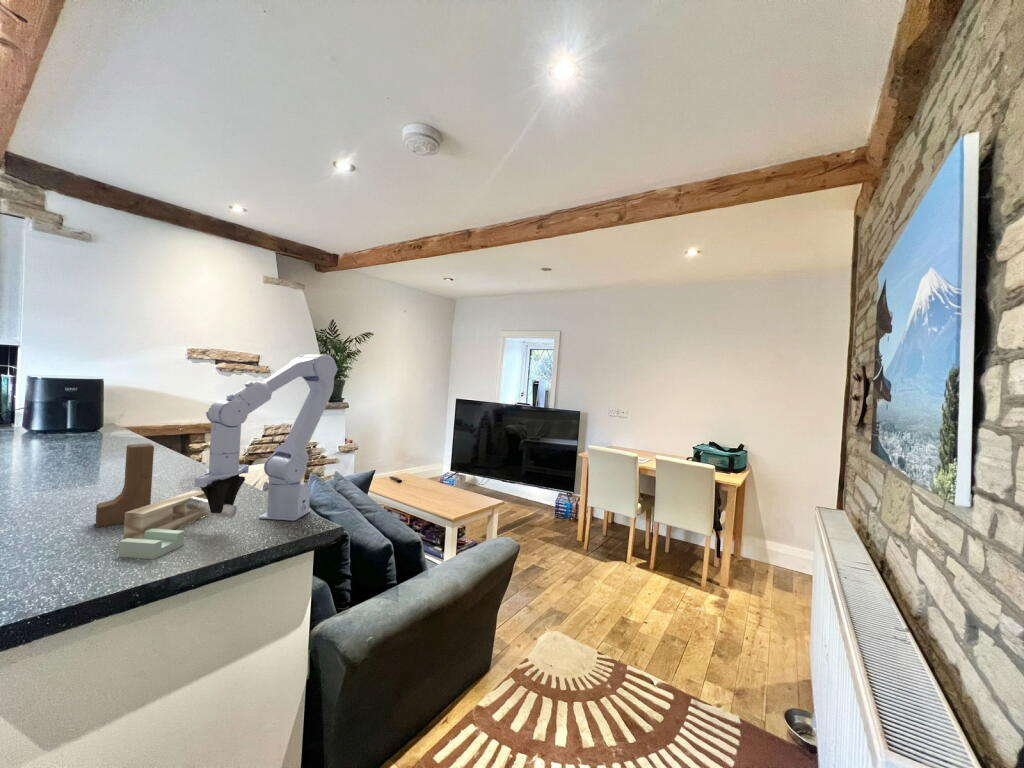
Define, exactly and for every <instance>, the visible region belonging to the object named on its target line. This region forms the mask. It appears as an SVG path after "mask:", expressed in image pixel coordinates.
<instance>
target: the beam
mask: <svg viewBox="0 0 1024 768" xmlns="http://www.w3.org/2000/svg"><path fill="white" fill-rule="evenodd" d="M191 497H198V498H203V499H207V497H206V495H205V494H204V492H203V491H201V490H191V491H187V492H185V493H180V494H179V495H176V496H172V497H169V498H167V499H163V500H160V501H157V502H153V503H150V505H147V506H144V507H141V508H138V509H135V510H131V511H128V512H125V521H124V523H123V539H122V540H124V539H126V538H132V539H144V537H145V531H147V530H150V529H165V530H174V529H175V530H178V529H179V528H182V527H184V526H186V524H187V525H189V524H190V523H189V522H191V523H193V522H192V521H194V520H196V519H199V518H201V517H203V516H206V515H209V513H204V512H200V511H196V510H191V509H187V507H186V504H187V502H188V500H189V499H190V498H191ZM206 517H207V516H206ZM203 518H204V517H203ZM201 519H202V518H201ZM199 520H200V519H199ZM196 521H197V520H196ZM194 522H195V521H194ZM188 523H189V524H188ZM183 525H184V526H183ZM181 526H182V527H181Z"/></svg>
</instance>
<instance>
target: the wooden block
mask: <svg viewBox="0 0 1024 768" xmlns="http://www.w3.org/2000/svg"><path fill="white" fill-rule="evenodd" d="M154 450H155V446H154V445H153V444H152V443H136V444H135V443H132V444H128V445H126V450H125V451H126V452H125V467H124V468H125V469H124V470H125V471H124V482H123V483H124V484H123V487H122V490H121V493H119V494H118V495H117V496H116V497H114V498H113V499H111V500H106V501H103V502H100V503H97V504H96V507H95V509H96V510H95V524H96V526H97V528H104V527H110V526H116V525H122V524H124V521H125V512H128V511H131V510H135V509H138V508H141V507H144V506H147V505H150V504H152V503H151V499H152V484H153V471H154V469H153V468H154V453H155V451H154Z"/></svg>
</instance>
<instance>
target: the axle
mask: <svg viewBox="0 0 1024 768" xmlns="http://www.w3.org/2000/svg"><path fill="white" fill-rule="evenodd" d="M186 507H187V509H191V510H196V511H200V512H204V513H208V515H214V516H217V517H222V518H227V519H232V518H234V517H235V515H236V513H237V512H238V507H237V505H234V504H233V505H229V504H224V505H223V510H222V513H211V511H210V507H209V503H208V500H207V499H203V498H198V497H191V498H190V499H189V500H188V502H187V504H186Z"/></svg>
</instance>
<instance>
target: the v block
mask: <svg viewBox="0 0 1024 768" xmlns="http://www.w3.org/2000/svg"><path fill="white" fill-rule="evenodd" d="M184 542H185V530H178V529H175V530H165V529H150V530H147V531H145V537H144V539H132V538H126V539H124V540H123V539H121V540H119V541H118V553H117V555H118V556H117V557H120V558H129V559H130V558H132V559H146V560H147V559H148V560H155V559H157V558H158V557H159V558H160V557H161V556H163V555H166V554H167V553H169V552H171V551H174V550H175V549H178V548H180V547H182V546H184Z"/></svg>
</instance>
